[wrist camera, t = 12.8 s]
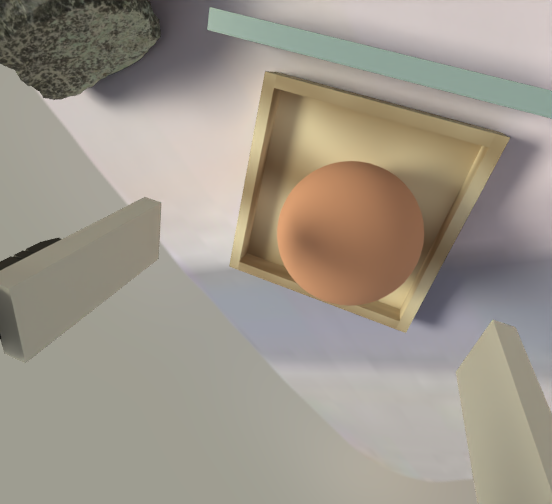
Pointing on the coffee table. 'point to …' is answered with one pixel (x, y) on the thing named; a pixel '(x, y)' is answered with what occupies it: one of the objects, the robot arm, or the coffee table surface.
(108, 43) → the stone
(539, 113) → the wall
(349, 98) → the tray
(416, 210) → the ball
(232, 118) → the coffee table surface
